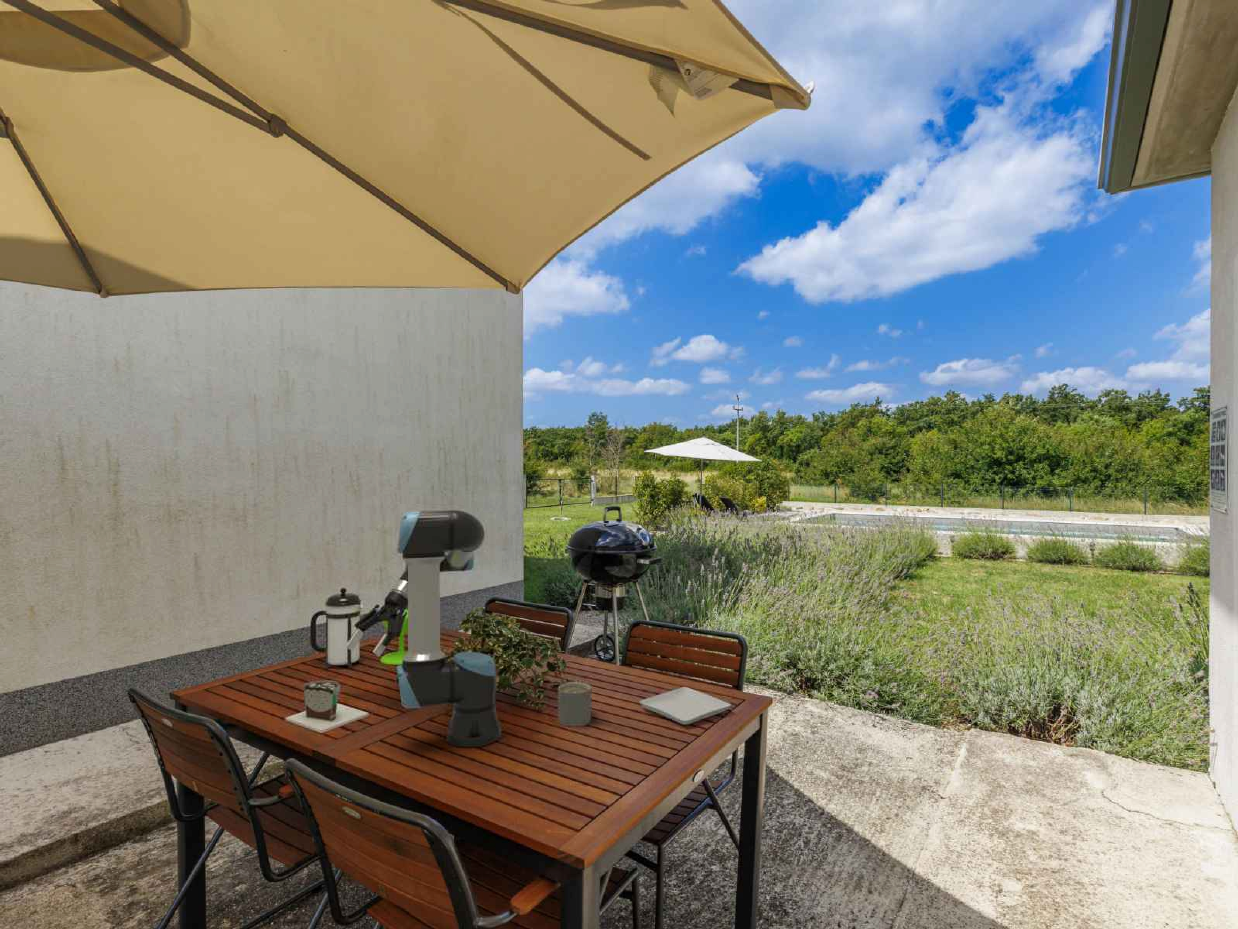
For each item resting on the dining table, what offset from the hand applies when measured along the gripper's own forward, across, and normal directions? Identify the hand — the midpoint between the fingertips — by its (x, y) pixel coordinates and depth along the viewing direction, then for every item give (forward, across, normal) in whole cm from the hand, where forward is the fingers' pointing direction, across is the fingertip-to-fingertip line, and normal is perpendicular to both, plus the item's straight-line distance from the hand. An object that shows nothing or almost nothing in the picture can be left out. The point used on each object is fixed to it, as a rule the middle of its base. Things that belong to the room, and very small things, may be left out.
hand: (362, 651), depth 209 cm
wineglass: (-18, +33, -43) cm, 57 cm away
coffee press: (-5, +46, -30) cm, 55 cm away
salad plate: (-23, -89, -50) cm, 105 cm away
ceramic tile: (+21, +1, -5) cm, 21 cm away
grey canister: (-7, -64, -34) cm, 73 cm away
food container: (+21, +1, -4) cm, 21 cm away
